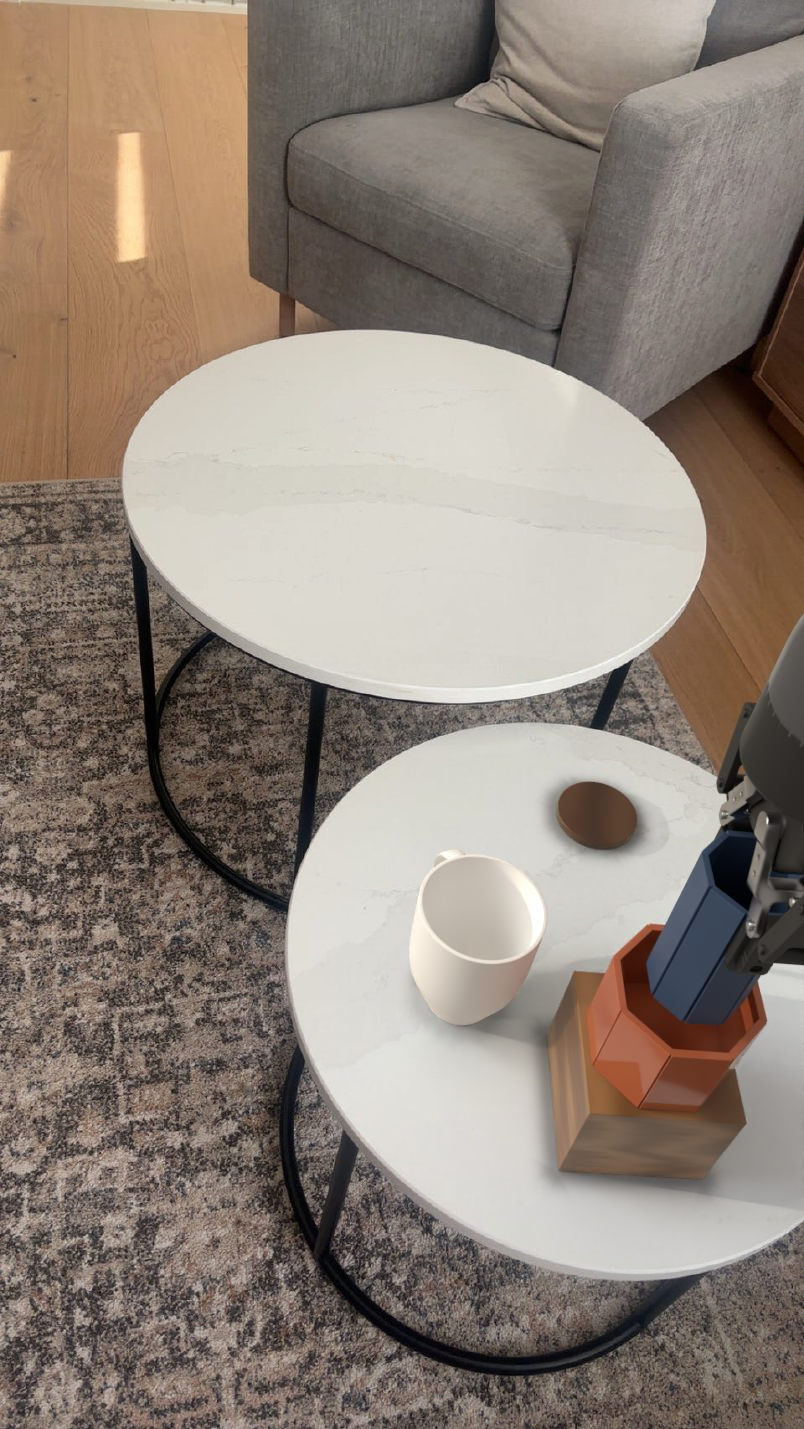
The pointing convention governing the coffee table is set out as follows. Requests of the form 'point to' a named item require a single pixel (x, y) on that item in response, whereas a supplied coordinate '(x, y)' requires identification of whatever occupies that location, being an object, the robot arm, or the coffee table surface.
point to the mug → (474, 935)
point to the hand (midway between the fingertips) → (731, 916)
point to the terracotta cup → (662, 1036)
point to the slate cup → (708, 935)
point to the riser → (626, 1109)
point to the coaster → (596, 815)
